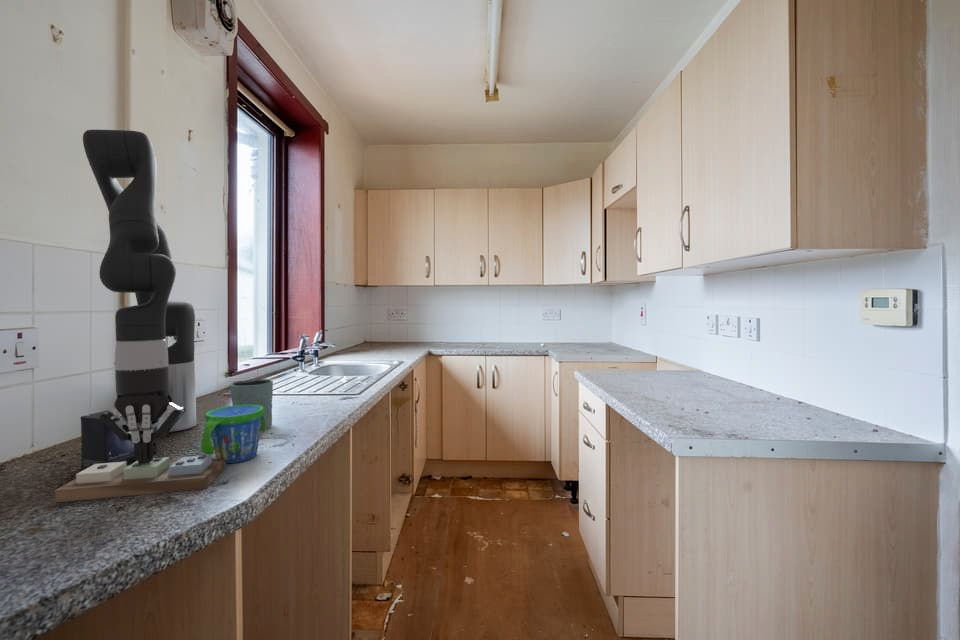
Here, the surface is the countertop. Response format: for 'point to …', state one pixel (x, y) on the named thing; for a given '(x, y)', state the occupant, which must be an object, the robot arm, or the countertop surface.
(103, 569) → the countertop surface
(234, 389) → the grey green plant pot
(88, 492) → the board
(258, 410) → the snack cup
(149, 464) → the tile two
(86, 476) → the tile one
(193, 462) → the tile three
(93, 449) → the small box
